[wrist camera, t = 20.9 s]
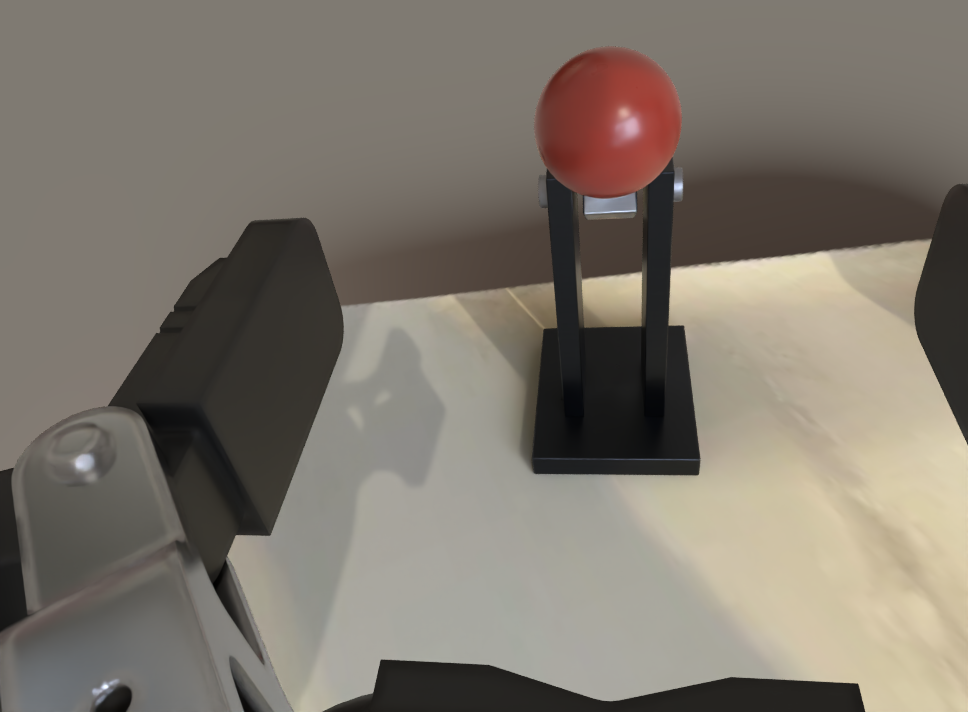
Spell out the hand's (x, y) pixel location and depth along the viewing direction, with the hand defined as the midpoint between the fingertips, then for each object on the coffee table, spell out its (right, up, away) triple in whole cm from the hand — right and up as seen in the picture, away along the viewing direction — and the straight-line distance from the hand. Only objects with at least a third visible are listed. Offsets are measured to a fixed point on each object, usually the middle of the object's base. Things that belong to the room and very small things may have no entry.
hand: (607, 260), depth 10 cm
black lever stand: (+5, -4, +31) cm, 32 cm away
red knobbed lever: (+3, +3, +16) cm, 16 cm away
